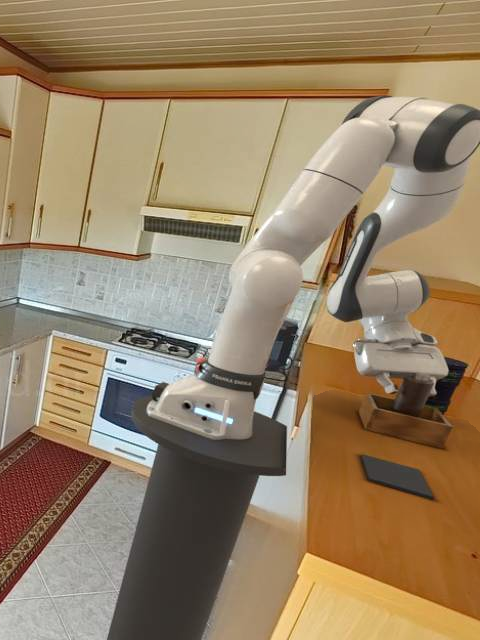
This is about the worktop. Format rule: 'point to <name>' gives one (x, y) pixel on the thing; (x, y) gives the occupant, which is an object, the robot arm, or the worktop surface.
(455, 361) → the storage jar
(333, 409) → the worktop surface
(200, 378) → the robot arm
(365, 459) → the counter mat
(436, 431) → the brown wooden open box
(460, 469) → the worktop surface
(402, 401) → the pepper mill
